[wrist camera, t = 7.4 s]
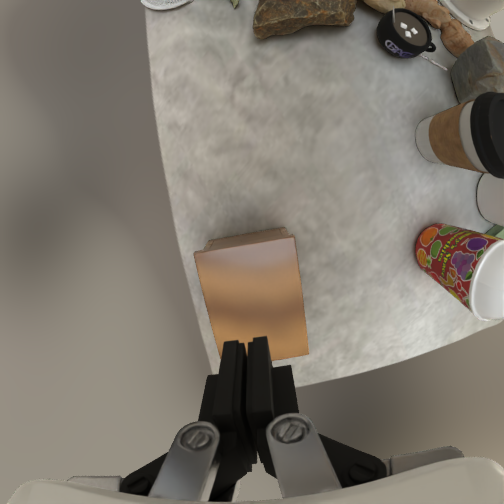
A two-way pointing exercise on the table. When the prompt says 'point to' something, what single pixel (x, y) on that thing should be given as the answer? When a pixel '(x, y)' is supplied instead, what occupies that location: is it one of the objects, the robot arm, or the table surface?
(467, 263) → the smoothie
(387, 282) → the table surface
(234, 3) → the toy
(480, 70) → the stone
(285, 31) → the rock
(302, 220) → the table surface
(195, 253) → the lid
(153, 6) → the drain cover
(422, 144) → the coffee cup
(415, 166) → the table surface
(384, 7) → the oil lamp
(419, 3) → the figurine
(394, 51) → the mug
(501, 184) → the pill bottle
